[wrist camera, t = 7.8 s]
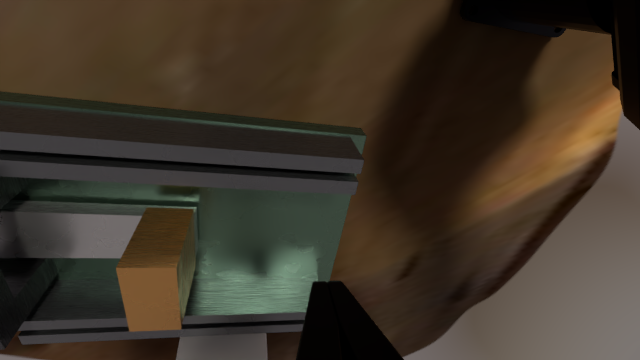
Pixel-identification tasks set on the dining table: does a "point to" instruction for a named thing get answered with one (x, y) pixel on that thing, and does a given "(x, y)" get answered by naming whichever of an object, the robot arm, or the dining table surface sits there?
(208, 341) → the cylindrical container
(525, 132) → the dining table surface
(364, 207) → the dining table surface
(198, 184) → the green plate fixture
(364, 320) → the robot arm
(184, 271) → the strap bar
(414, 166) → the dining table surface
